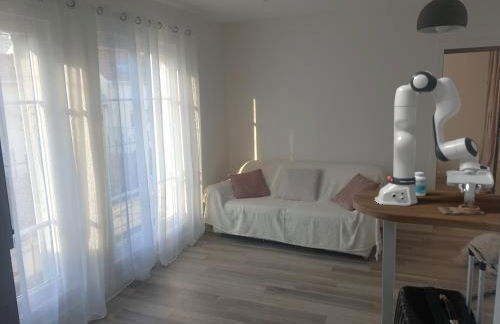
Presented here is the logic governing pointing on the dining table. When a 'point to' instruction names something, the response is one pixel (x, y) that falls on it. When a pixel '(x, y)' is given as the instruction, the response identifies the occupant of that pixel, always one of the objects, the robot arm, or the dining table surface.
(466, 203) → the steel peg
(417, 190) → the pill bottle
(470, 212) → the gauge board
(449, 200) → the dining table surface
